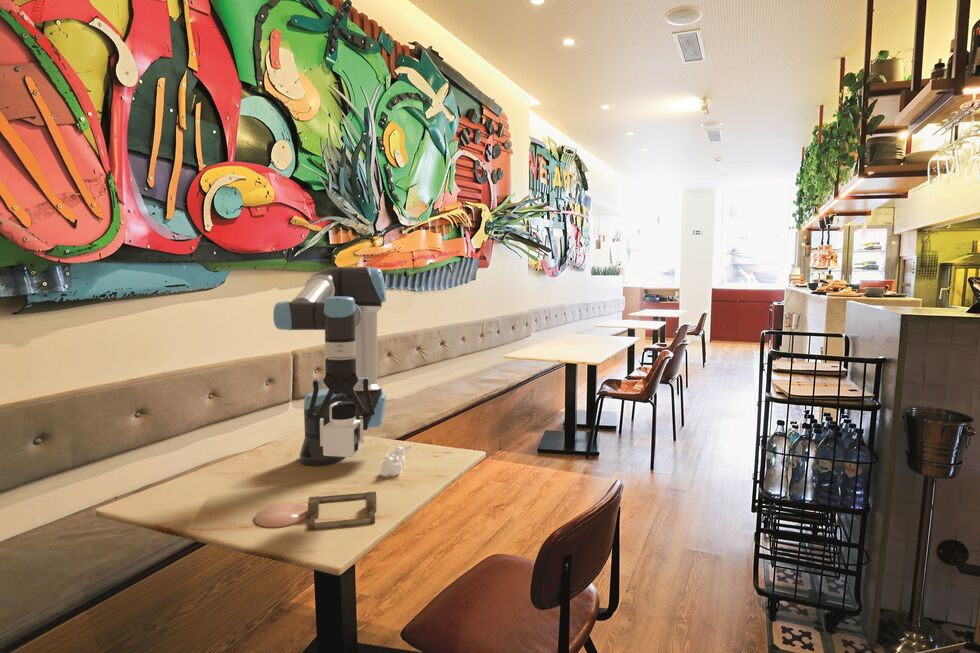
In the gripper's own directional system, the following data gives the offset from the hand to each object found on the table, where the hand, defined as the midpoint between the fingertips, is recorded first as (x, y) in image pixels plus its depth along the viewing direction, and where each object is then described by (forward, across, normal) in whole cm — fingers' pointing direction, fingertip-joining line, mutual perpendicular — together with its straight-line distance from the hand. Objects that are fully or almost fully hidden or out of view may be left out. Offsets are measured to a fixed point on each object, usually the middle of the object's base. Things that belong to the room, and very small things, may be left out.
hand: (342, 443), depth 143 cm
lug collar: (+18, 0, 0) cm, 18 cm away
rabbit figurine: (+19, +16, +25) cm, 35 cm away
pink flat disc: (+18, -15, 0) cm, 24 cm away
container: (+3, 0, +1) cm, 3 cm away
